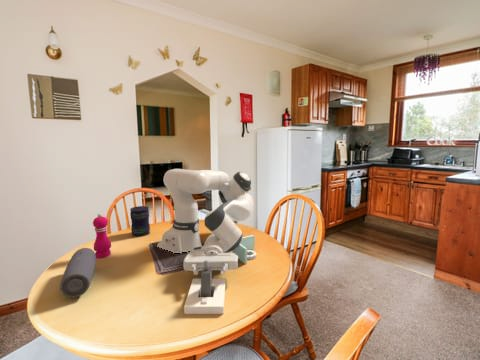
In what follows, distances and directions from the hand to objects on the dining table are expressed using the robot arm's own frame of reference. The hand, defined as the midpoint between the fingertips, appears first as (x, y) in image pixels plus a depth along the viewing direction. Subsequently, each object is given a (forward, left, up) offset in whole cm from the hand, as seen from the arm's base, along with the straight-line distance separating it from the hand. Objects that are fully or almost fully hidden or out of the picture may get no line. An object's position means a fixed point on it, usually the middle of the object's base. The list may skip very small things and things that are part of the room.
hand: (209, 272), depth 89 cm
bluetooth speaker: (-46, -15, -8) cm, 49 cm away
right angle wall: (+2, +32, -8) cm, 33 cm away
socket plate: (+1, -3, -7) cm, 8 cm away
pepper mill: (-60, +5, -8) cm, 61 cm away
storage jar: (-65, +33, -8) cm, 73 cm away
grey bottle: (+1, -4, -7) cm, 8 cm away
